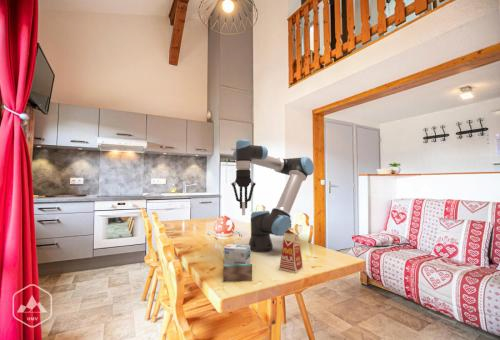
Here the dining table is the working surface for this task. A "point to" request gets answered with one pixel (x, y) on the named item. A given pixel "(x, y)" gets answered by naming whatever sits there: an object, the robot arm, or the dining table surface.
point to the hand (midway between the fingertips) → (243, 214)
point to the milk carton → (291, 252)
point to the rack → (238, 272)
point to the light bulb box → (236, 254)
